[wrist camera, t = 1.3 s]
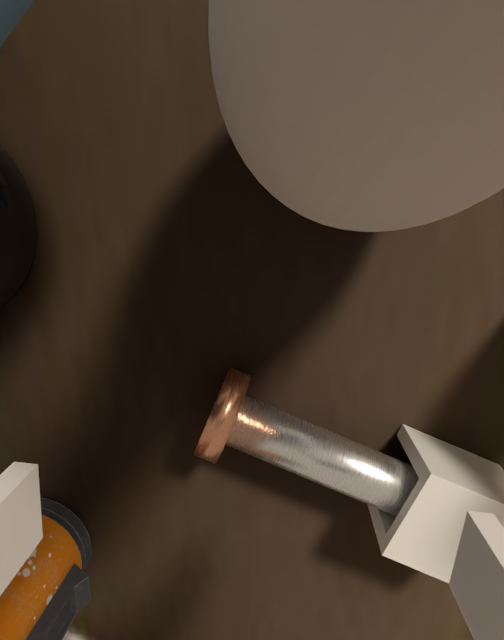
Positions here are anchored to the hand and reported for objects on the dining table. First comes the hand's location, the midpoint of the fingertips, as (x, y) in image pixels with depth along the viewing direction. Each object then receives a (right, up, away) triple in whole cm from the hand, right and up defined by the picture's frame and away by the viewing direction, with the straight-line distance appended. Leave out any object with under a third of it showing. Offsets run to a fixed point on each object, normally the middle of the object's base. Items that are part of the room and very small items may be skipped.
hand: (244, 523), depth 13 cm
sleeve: (+14, -6, +19) cm, 25 cm away
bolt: (+9, -4, +19) cm, 21 cm away
